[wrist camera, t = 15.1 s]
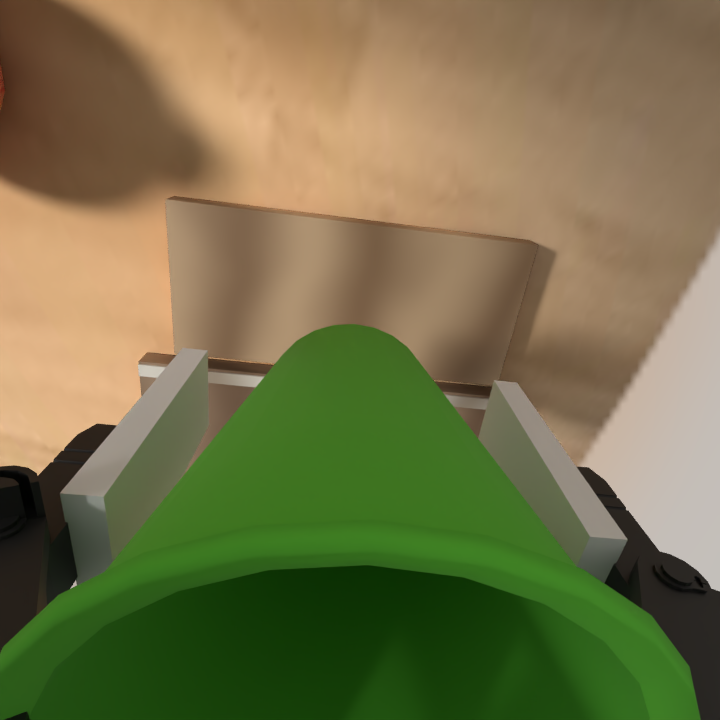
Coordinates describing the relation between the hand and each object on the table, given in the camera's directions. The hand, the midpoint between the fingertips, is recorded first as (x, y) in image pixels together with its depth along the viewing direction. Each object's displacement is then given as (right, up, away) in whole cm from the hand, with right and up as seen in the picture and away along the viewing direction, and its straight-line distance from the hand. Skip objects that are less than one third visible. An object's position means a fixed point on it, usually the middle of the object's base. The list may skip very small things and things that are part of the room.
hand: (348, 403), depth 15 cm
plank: (0, +5, +10) cm, 11 cm away
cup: (0, 0, +1) cm, 1 cm away
